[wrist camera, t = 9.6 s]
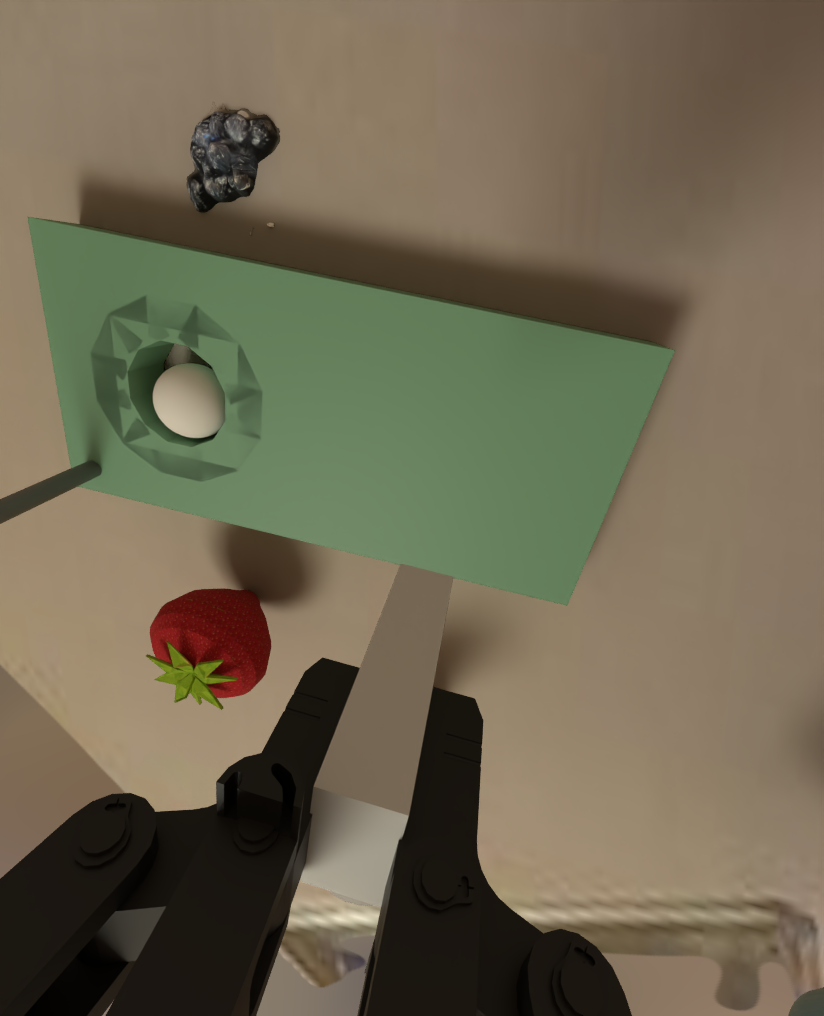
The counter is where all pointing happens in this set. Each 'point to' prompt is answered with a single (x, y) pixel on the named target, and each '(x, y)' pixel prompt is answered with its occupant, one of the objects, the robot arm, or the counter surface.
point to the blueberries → (228, 155)
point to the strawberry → (211, 644)
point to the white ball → (190, 400)
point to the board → (342, 409)
